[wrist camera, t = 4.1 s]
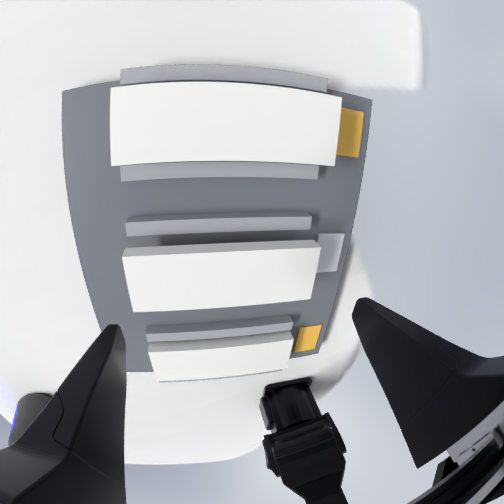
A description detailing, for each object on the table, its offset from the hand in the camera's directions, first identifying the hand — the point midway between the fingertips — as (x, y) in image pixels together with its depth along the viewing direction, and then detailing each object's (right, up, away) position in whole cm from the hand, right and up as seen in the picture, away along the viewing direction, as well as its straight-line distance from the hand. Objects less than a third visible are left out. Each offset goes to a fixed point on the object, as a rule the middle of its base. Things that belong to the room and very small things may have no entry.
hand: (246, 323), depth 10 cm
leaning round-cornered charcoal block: (-34, -22, +19) cm, 45 cm away
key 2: (-1, +10, +5) cm, 11 cm away
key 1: (-3, -7, +15) cm, 17 cm away
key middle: (-2, +1, +9) cm, 9 cm away
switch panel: (-3, +3, +13) cm, 13 cm away
